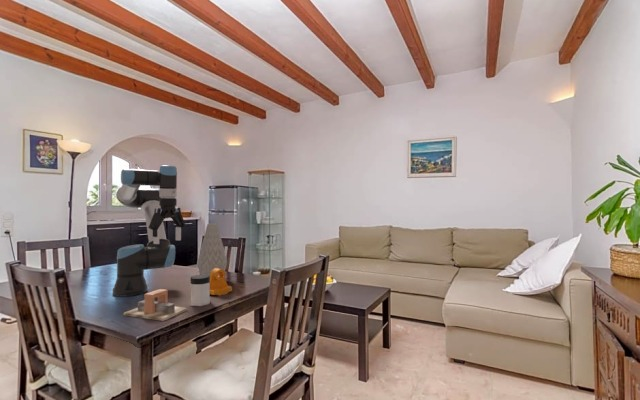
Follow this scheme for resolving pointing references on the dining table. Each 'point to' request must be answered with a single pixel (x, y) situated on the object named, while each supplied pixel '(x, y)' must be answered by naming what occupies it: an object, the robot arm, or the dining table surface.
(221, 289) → the bracket
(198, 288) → the jar
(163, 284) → the dining table surface
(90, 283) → the dining table surface
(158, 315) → the rail board
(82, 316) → the dining table surface
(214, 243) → the vase
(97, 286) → the dining table surface
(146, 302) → the clip
